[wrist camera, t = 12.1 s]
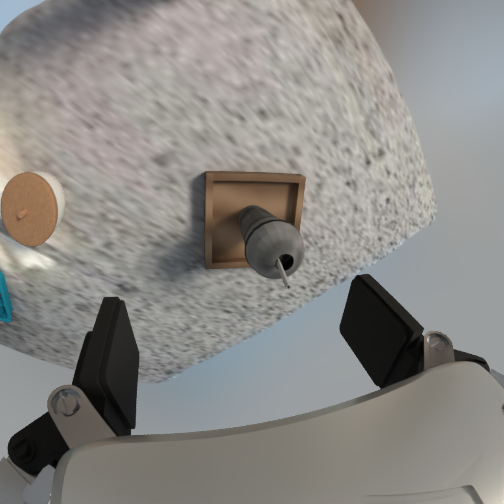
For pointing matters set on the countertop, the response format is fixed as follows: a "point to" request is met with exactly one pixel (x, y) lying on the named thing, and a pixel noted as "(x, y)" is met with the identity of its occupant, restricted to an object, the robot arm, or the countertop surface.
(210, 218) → the walnut tray
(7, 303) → the ice cube tray
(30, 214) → the lidded jar
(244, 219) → the beverage cup
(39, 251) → the countertop surface
